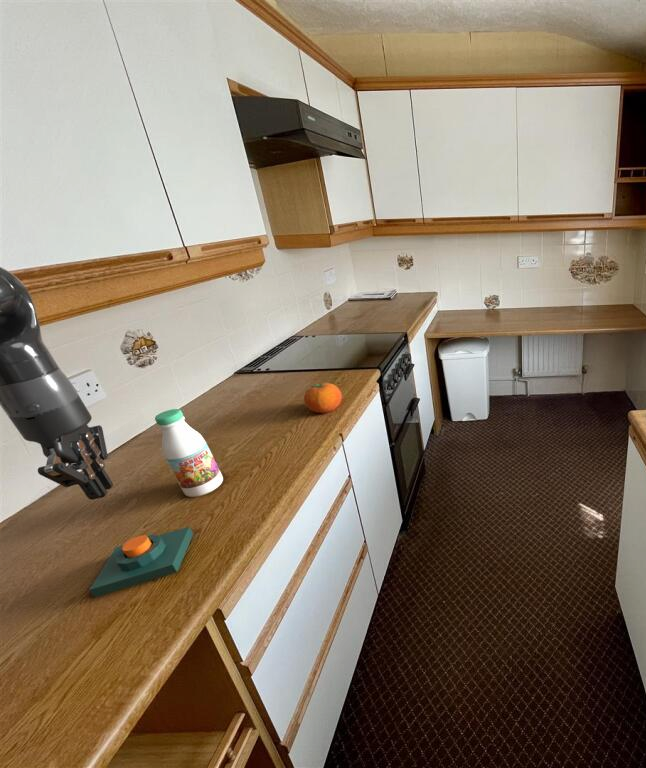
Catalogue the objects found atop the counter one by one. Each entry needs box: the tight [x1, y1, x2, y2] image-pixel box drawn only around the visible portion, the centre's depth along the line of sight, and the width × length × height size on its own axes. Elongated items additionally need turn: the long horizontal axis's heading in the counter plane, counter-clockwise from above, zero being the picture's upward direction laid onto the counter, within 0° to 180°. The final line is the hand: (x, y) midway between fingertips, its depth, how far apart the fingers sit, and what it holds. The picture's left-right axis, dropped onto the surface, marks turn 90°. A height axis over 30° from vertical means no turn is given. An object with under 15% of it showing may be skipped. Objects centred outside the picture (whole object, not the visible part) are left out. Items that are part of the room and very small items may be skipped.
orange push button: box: [122, 534, 152, 558], centre depth 74 cm, size 4×4×2 cm
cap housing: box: [88, 526, 194, 598], centre depth 75 cm, size 12×10×4 cm
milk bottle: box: [154, 408, 224, 498], centre depth 91 cm, size 8×8×20 cm
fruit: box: [303, 382, 343, 414], centre depth 125 cm, size 11×10×8 cm
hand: (102, 492), depth 68 cm, fingers closed
